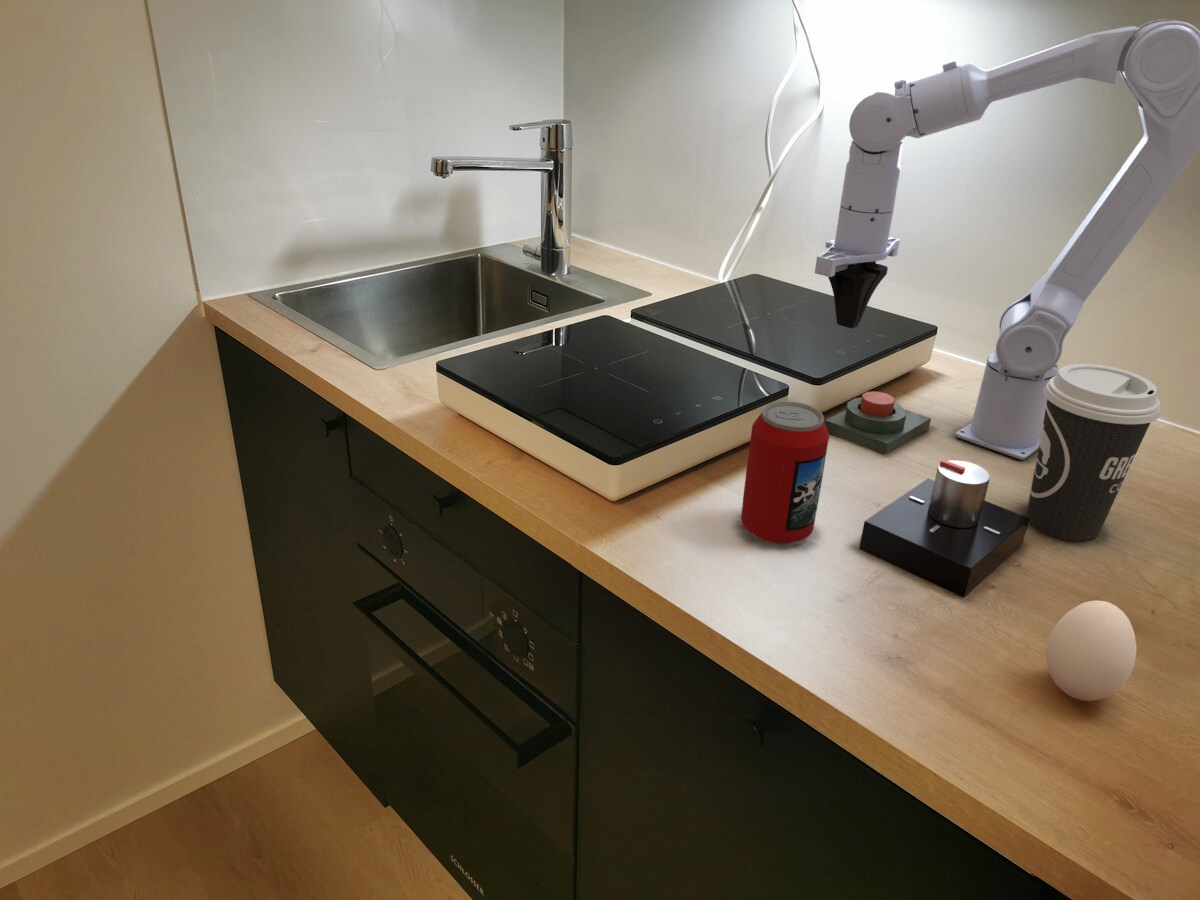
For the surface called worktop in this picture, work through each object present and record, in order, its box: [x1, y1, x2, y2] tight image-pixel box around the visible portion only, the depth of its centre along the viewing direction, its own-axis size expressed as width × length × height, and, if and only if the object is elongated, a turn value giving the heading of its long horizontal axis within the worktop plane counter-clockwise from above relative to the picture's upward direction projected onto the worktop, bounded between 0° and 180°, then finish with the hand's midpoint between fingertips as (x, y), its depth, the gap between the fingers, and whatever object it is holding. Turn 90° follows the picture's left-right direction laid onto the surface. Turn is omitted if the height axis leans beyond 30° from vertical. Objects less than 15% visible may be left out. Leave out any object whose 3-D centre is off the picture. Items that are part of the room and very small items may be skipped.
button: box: [860, 391, 896, 417], centre depth 103 cm, size 4×4×2 cm
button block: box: [824, 397, 932, 455], centre depth 105 cm, size 10×8×3 cm
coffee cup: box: [1025, 363, 1162, 542], centre depth 84 cm, size 10×10×15 cm
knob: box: [928, 459, 991, 528], centre depth 81 cm, size 4×4×5 cm
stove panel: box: [858, 478, 1030, 599], centre depth 82 cm, size 12×10×3 cm
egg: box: [1045, 599, 1137, 702], centre depth 64 cm, size 6×6×8 cm
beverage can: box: [740, 400, 830, 545], centre depth 82 cm, size 7×7×12 cm
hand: (847, 325), depth 106 cm, fingers closed
